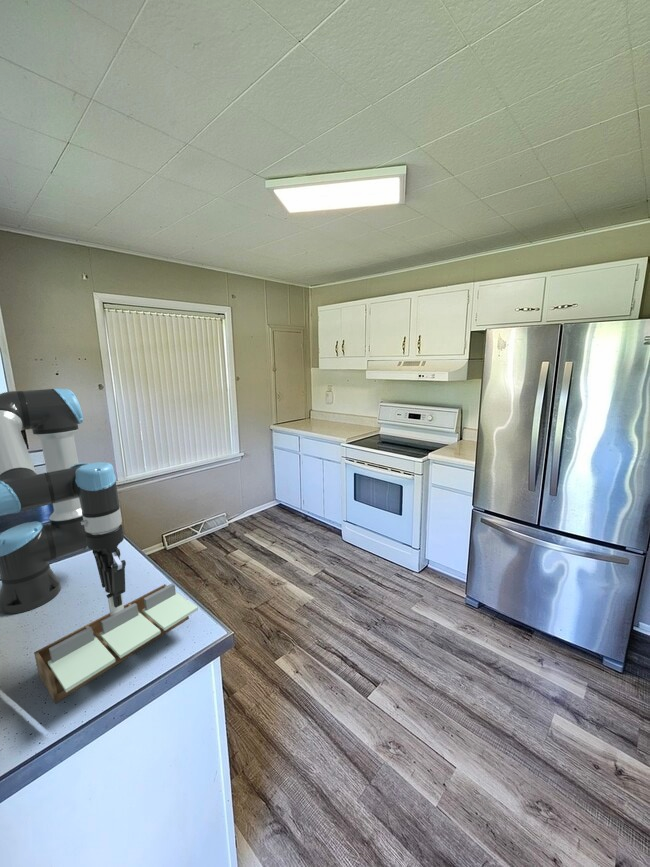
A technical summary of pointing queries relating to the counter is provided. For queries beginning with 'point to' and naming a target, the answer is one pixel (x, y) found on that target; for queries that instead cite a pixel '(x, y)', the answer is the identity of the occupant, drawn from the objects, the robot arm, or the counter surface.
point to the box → (44, 654)
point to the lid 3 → (167, 607)
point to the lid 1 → (78, 659)
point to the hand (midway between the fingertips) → (117, 615)
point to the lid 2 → (127, 630)
